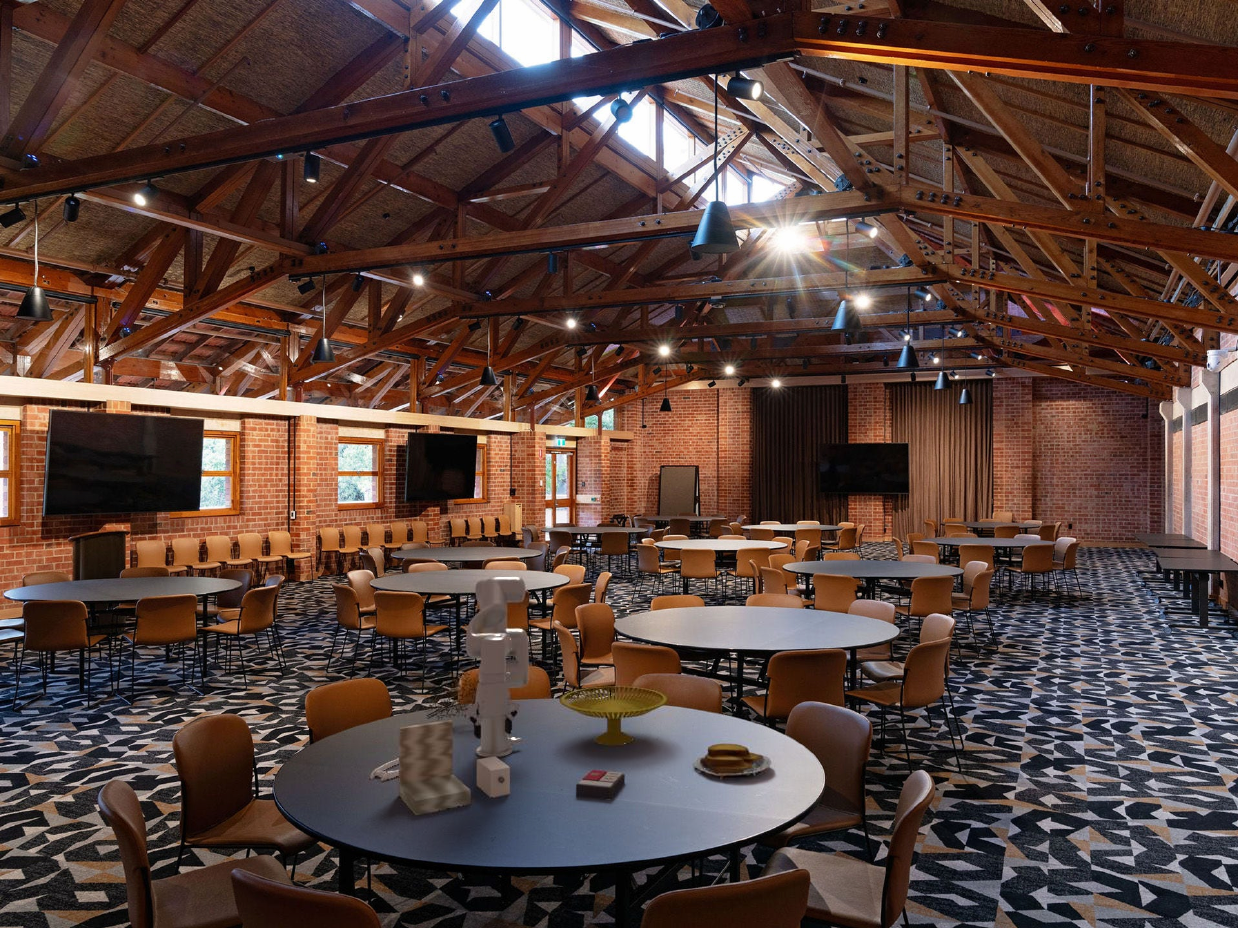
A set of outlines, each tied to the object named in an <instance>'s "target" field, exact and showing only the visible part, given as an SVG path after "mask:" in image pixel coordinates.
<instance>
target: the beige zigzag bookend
mask: <svg viewBox="0 0 1238 928" xmlns="http://www.w3.org/2000/svg"><path fill="white" fill-rule="evenodd" d="M453 723H454V721H453V720H451V719H449V720H441V721H436V722H434V721H433V722H429V723H422V724H421V723H420V724H415V725H409V726H402V727H399V728H398V734H399V735H398V758H399V765H398V770H399V776H398V796H400V797H401V798H400V797H399V798H400V799H401V800H402V801H403V802H404V804H405V803H406V804H405V805H406V806H407V807H408V808H409V810H410V811H411V812H412V813H413V814H414V815H415V816H420V815H424V814H425V815H426V814H430V813H434V812H439V810H440V811H444V810H448V809H447V808H450V809H454V807H455V808H458V807H457V806H460V807H463V805H464V806H468V805H471V803H472V802H471V799H472V796H471V795H472V794H471V793H472V792H471V789H470V788H469V787H468V786H467V785H466V784H464V783H463V782H462V781H461V780H460V779H459V778H458V777H456V776H455V775H454V774H453V762H454V761H453V758H454V757H453V752H454V751H453V744H454V742H453V740H454V739H453V737H454V735H453V734H454V733H453V728H454V727H453V725H454V724H453Z"/></svg>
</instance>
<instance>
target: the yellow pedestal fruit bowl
mask: <svg viewBox="0 0 1238 928" xmlns="http://www.w3.org/2000/svg"><path fill="white" fill-rule="evenodd" d="M605 690H606V691H605ZM601 692H602V693H601ZM610 692H611V693H610ZM640 692H641V693H640ZM614 693H615V694H614ZM606 694H607V695H606ZM610 694H611V695H610ZM618 694H619V695H618ZM622 695H623V696H622ZM630 695H631V696H630ZM558 701H559V702H560V704H561V705H562V706H564V707H566V708H568V709H570V710H572V711H575V712H577V713H579V714H580V715H584V716H586V717H592V718H598V719H599V718H601V719H603V718H604V719H606V721H607V722H606V732H603V733H602V734H600V735H598V736H596V737H595V738H594V741H595V742H596V743H597V744H599V743H601V744H600V745H603V744H604V746H613V745H614V746H622V745H621V744H624V743H628V744H630V743H629V742H630V741H632V739H633V740H634V738H633V736H631V735H629V734H626V733H625V732H623V731H622V718H623V719H626V718H628V719H629V718H633V717H634V718H635V717H640V716H644V715H646V714H648V713H650V712H652V711H654V710H655V711H656V709H659V708H661V707H663V706H665V705H666V704H667V703H668V702H669V697H668V696H667V695H666V694H664V693H662V692H659V691H656V690H653V689H649V688H644V687H638V686H637V687H635V686H620V685H619V686H618V685H617V686H615V685H614V686H598V687H596V686H595V687H586V688H581V689H577V690H573V691H570V692H567V693H564V694H562V695H561V696H560V698H559V699H558ZM632 742H633V741H632Z"/></svg>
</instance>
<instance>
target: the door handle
mask: <svg viewBox="0 0 1238 928" xmlns="http://www.w3.org/2000/svg"><path fill="white" fill-rule="evenodd" d="M398 763H399V757H397V758H396V759H394V760H391V761H389V762H386V763H384V764H383V765H381V766H379V767H376V768H375V769H374V770H372V772H371V774H370V776H369V777H370V779H371V780H373V779H374V778H376V777H375V776H377V777H378V778H380V782H384V781H387V779H389V780H392V779H391V778H393V779H395V778H397V777H396V776H398V777H399V769H397V770H388V769H387V768H389V769H391V768H393V767H392V766H394V765H396V766H398V765H397V764H398ZM390 767H391V768H390ZM394 767H395V766H394ZM386 769H387V770H388V771H387V770H386ZM383 770H385V771H383ZM394 777H395V778H394Z"/></svg>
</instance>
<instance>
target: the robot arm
mask: <svg viewBox="0 0 1238 928" xmlns="http://www.w3.org/2000/svg"><path fill="white" fill-rule="evenodd" d="M474 588H475V589H474V590H475V596H476V601H477V604H478V606H479V610H480V611H478V613H476V614H475V615H474V616H473V617H472V619H471V620H470V621H469V623H468V625H467V628H466V638H465V651H466V654H467V656H468V657H470V658H473V659H480V665H479V667H478V672H477V674H478V676H477V677H478V682H477V683H478V684H477V687H476V689H477V691H476V694H475V695H476V696H475V697H476V699H475V704H473V706H472V705H471V706H470V707H468V708H469V709H467V710H464V711H465V712H464V714H465V715H466V718H467V717H468V720H469V721H471V723H472V724H473V735H474V737H475V738H476V739H478V740H480V746H478V747H477V748H476V750H475V752H476V754H477V756H480V757H483V758H488V757H494V756H495V757H497V758H501V757H504V756H508V755H510V754H512V753H513V752H514V751H513V750H514V749H513V748H514V747H513V746H514V745H520V744H522V738H521V737H518V738H517V737H510V736H509V735H511V734H512V731H513V721H514V720H515V719H514V718H515V717H516V716H517V714H518V711H519V710H520V707H521V704H520V703H518V702H515V701H514V700H511V694H510V689H511V688H523V687H526V686H527V685H528V683H529V678H530V669H529V667H530V666H529V665H530V662H529V661H530V660H529V659H530V658H529V639H528V637H529V636H528V634H527V632H526V630H524V629H523V628H508V603H522V602H523V601H524V600H525V597H526V591H527V590H526V583H525V581H524V579H523V578H522V577H519V576H499V577H498V576H496V577H495V576H494V577H489V578H485V579H481V580H479V581H477V582H476V584H475V587H474ZM481 632H482V633H481ZM507 657H514V658H515V659H506V658H507ZM511 706H513V709H512V710H511ZM473 713H475V714H474V715H475V718H474V716H473Z"/></svg>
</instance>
